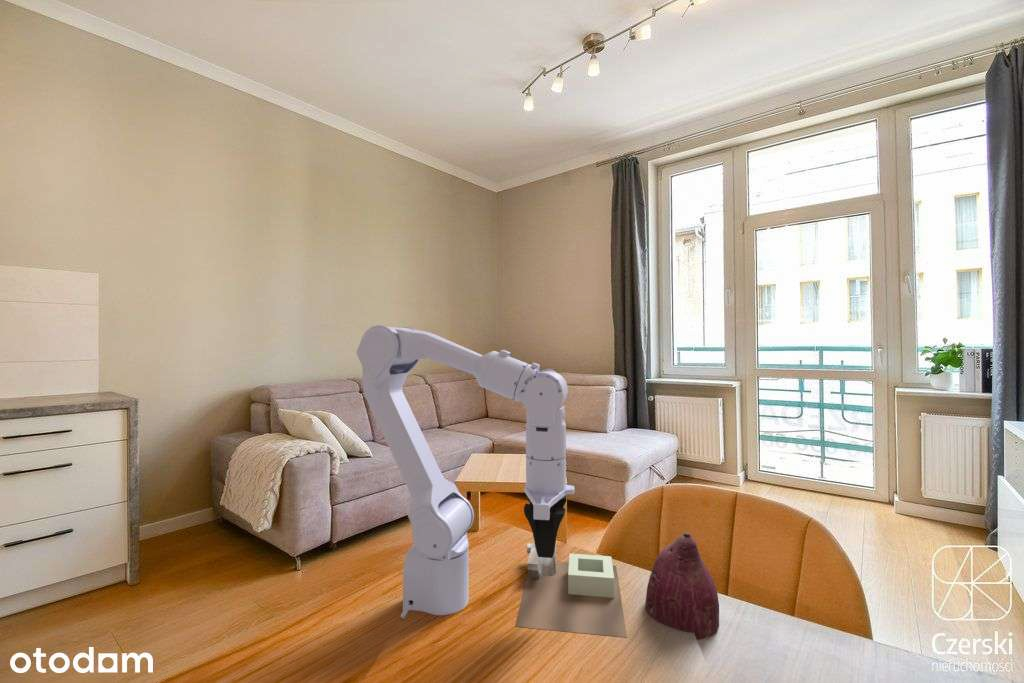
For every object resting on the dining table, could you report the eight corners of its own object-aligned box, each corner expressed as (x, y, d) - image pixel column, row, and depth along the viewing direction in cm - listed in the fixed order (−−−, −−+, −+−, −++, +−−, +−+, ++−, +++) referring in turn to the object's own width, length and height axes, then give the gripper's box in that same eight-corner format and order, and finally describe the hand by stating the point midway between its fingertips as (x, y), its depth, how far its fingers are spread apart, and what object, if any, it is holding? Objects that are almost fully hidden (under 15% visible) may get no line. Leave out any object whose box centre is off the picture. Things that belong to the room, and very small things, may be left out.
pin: (537, 575, 61) (536, 525, 61) (539, 566, 64) (538, 518, 64) (555, 577, 61) (555, 526, 61) (556, 567, 64) (556, 519, 64)
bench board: (511, 633, 61) (511, 604, 61) (528, 564, 79) (528, 542, 79) (627, 645, 58) (626, 614, 58) (616, 571, 77) (615, 548, 77)
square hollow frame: (568, 594, 68) (568, 574, 68) (569, 570, 75) (569, 553, 75) (614, 597, 67) (614, 578, 67) (611, 574, 74) (611, 556, 74)
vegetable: (724, 665, 59) (748, 573, 55) (644, 644, 61) (662, 554, 57) (709, 602, 69) (728, 520, 65) (640, 586, 71) (655, 506, 67)
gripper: (572, 471, 55) (573, 580, 55) (575, 444, 69) (575, 531, 69) (517, 468, 56) (517, 575, 56) (530, 443, 70) (531, 528, 70)
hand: (546, 551), depth 62 cm, fingers closed on pin, 3 cm apart
